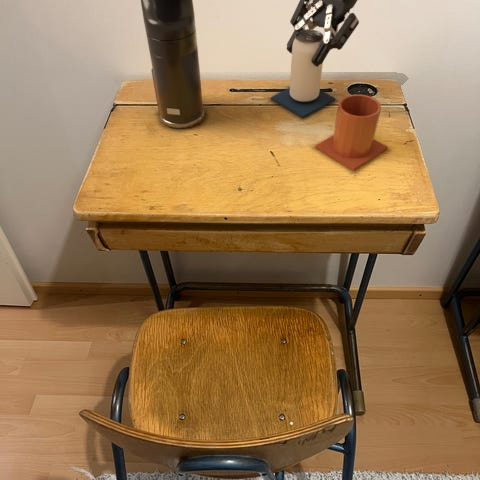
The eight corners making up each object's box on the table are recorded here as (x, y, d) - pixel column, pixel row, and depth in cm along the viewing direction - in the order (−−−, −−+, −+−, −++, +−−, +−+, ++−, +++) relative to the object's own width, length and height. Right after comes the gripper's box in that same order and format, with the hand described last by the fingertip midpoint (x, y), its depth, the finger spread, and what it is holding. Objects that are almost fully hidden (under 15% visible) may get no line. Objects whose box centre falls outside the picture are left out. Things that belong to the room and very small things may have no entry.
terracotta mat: (315, 147, 92) (315, 145, 92) (349, 128, 96) (349, 125, 95) (353, 171, 88) (354, 168, 87) (387, 149, 91) (388, 147, 91)
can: (288, 102, 100) (291, 43, 90) (290, 86, 104) (294, 27, 94) (318, 103, 99) (325, 44, 89) (319, 87, 103) (326, 29, 93)
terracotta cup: (323, 148, 92) (330, 105, 85) (349, 132, 95) (357, 89, 88) (352, 165, 89) (361, 122, 81) (378, 149, 91) (389, 106, 84)
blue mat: (270, 99, 103) (270, 96, 102) (302, 83, 106) (303, 80, 106) (302, 118, 98) (303, 115, 98) (335, 100, 102) (335, 98, 101)
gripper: (315, -50, 89) (268, 36, 94) (373, -30, 82) (319, 62, 88) (330, -25, 95) (285, 54, 100) (386, -5, 88) (335, 79, 94)
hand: (301, 57), depth 94 cm, fingers closed on can, 6 cm apart
